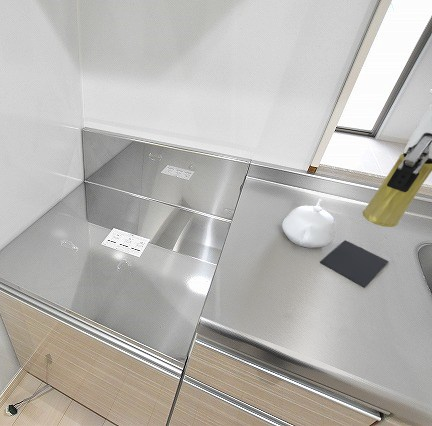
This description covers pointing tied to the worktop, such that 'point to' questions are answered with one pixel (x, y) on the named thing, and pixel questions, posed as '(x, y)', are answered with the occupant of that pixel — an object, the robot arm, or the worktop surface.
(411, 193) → the vase
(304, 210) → the white garlic bulb
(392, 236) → the worktop surface
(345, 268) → the mat
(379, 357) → the worktop surface
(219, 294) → the worktop surface
